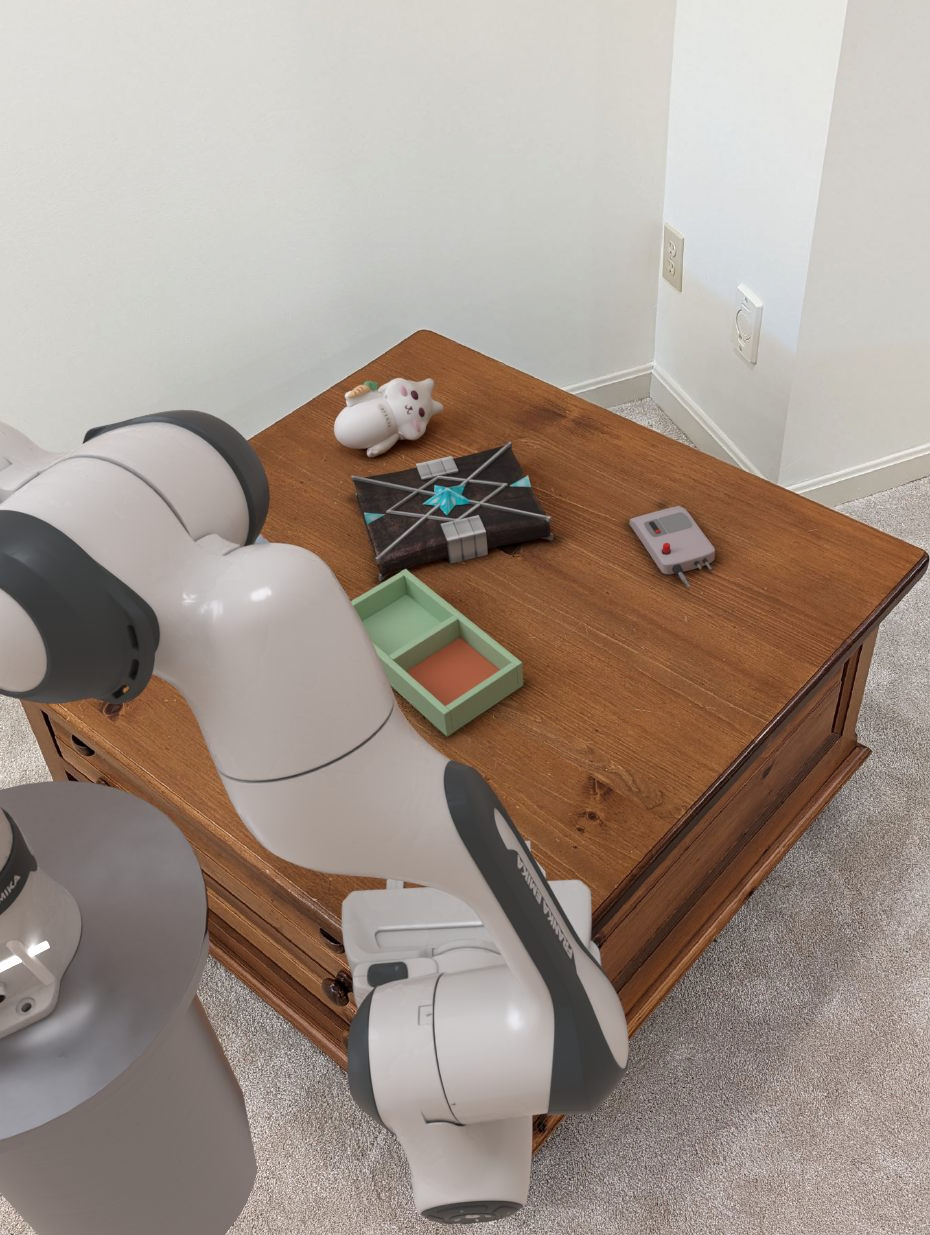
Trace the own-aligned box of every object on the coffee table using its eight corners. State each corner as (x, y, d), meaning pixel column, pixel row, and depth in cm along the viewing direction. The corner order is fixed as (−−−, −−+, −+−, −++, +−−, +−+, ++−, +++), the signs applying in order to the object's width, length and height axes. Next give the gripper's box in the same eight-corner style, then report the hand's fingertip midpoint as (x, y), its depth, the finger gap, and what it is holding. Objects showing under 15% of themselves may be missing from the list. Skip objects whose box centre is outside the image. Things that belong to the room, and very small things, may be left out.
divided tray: (447, 737, 125) (444, 714, 123) (335, 635, 137) (330, 613, 135) (523, 685, 129) (522, 662, 127) (408, 591, 141) (405, 568, 139)
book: (379, 582, 143) (374, 551, 139) (352, 498, 155) (346, 467, 151) (554, 541, 146) (553, 509, 142) (513, 461, 158) (512, 430, 154)
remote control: (673, 502, 149) (674, 483, 147) (730, 582, 138) (733, 562, 136) (623, 515, 148) (623, 496, 146) (677, 597, 137) (679, 578, 135)
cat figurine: (324, 400, 154) (430, 356, 157) (316, 399, 162) (417, 357, 164) (353, 469, 157) (456, 425, 159) (343, 465, 165) (442, 423, 167)
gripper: (605, 971, 90) (589, 818, 99) (332, 984, 90) (343, 831, 100) (604, 1012, 94) (589, 862, 104) (344, 1024, 95) (353, 874, 105)
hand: (466, 847), depth 102 cm, fingers open, 8 cm apart
